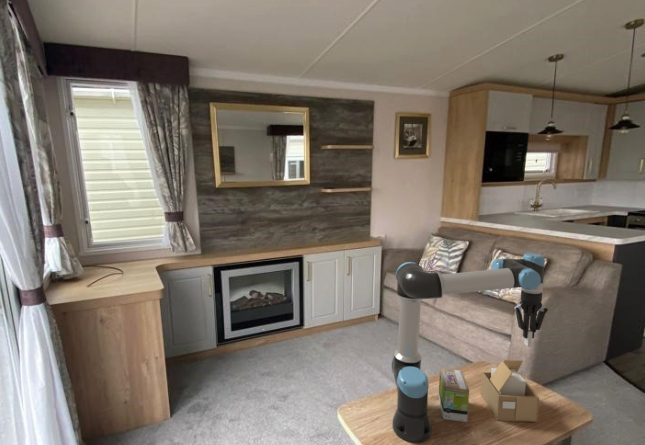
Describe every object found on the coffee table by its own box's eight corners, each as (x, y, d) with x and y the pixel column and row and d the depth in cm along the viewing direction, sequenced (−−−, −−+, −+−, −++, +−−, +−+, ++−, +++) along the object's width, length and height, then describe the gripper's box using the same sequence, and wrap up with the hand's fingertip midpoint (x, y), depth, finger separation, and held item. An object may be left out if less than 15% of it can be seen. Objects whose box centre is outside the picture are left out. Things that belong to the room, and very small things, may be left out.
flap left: (499, 392, 143) (498, 391, 143) (490, 379, 152) (489, 379, 152) (512, 372, 141) (511, 372, 141) (502, 361, 150) (502, 361, 150)
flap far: (498, 372, 157) (498, 371, 157) (516, 373, 157) (516, 372, 157) (504, 360, 151) (504, 359, 152) (523, 360, 151) (522, 360, 151)
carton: (497, 421, 142) (499, 388, 140) (480, 393, 160) (482, 364, 158) (539, 423, 141) (541, 389, 139) (516, 395, 159) (519, 365, 157)
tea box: (468, 422, 141) (469, 389, 139) (442, 419, 143) (444, 386, 141) (461, 400, 156) (462, 369, 154) (438, 397, 158) (439, 367, 156)
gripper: (519, 293, 138) (516, 349, 141) (553, 294, 137) (549, 350, 140) (510, 288, 145) (507, 340, 148) (543, 288, 144) (539, 341, 147)
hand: (527, 345), depth 144 cm, fingers closed
